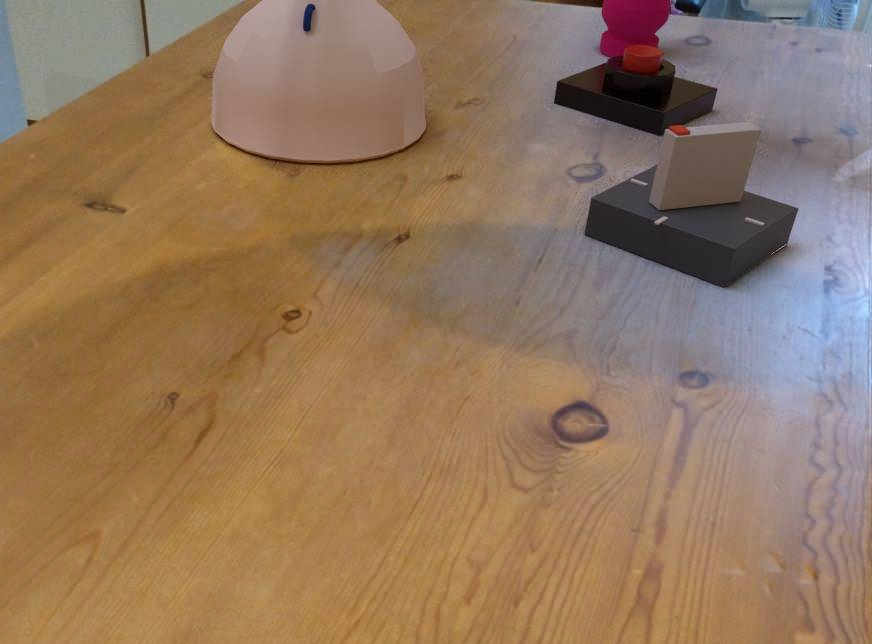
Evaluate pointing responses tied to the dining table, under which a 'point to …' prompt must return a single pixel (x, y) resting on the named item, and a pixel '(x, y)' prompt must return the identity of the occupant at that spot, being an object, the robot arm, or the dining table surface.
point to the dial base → (691, 229)
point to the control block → (636, 96)
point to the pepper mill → (632, 24)
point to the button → (642, 58)
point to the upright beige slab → (703, 165)
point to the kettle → (319, 82)
